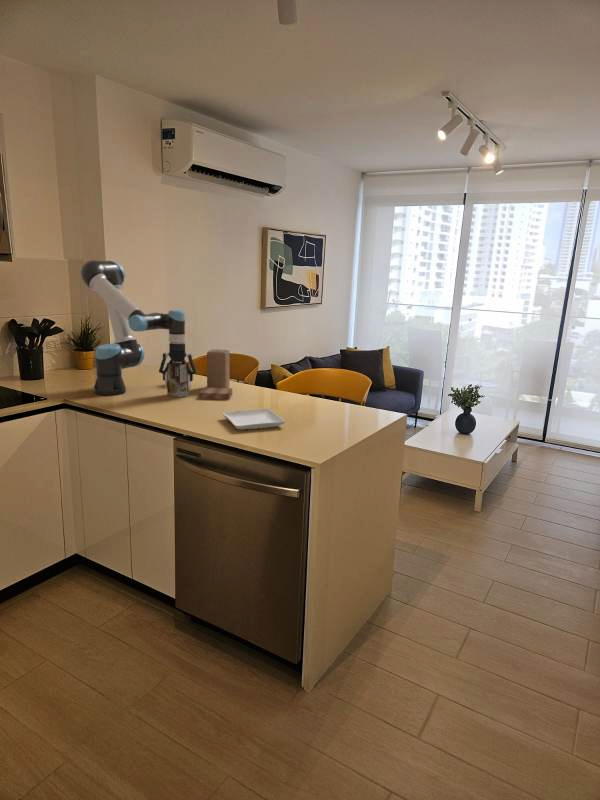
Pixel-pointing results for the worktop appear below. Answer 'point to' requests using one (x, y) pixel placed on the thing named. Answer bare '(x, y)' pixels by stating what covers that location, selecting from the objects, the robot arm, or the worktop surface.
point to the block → (218, 368)
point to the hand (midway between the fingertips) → (178, 387)
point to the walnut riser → (216, 393)
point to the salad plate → (253, 419)
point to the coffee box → (177, 379)
